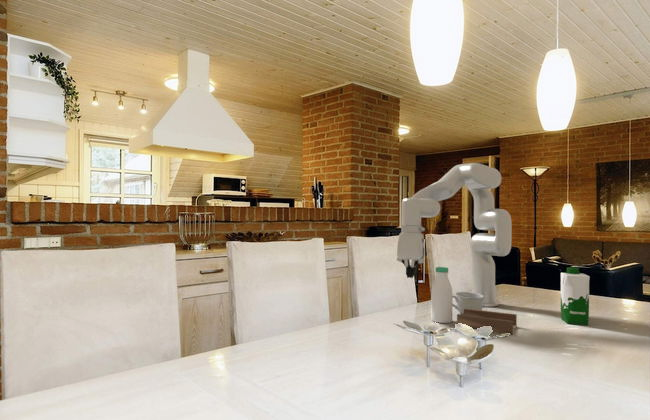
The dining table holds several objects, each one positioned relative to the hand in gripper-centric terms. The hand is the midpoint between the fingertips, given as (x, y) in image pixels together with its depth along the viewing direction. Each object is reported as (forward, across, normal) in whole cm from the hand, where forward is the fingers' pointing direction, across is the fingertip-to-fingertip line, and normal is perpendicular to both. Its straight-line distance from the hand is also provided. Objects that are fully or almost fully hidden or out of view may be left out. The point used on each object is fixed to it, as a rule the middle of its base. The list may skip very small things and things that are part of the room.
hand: (410, 277), depth 164 cm
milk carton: (+15, -55, -25) cm, 63 cm away
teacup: (+15, -17, -17) cm, 29 cm away
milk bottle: (+15, -12, 0) cm, 20 cm away
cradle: (+15, -28, 0) cm, 32 cm away
